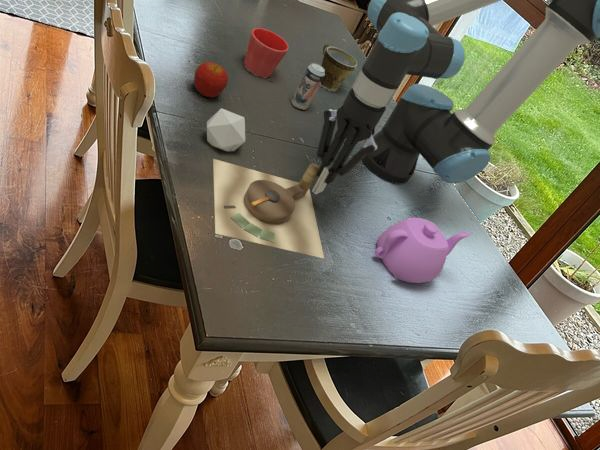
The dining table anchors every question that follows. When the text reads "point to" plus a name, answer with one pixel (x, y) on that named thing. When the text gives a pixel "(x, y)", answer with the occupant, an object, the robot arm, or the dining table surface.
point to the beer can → (308, 86)
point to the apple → (210, 79)
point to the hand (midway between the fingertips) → (317, 190)
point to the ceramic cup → (336, 67)
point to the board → (245, 226)
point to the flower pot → (264, 52)
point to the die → (226, 130)
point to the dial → (277, 197)
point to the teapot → (415, 249)
